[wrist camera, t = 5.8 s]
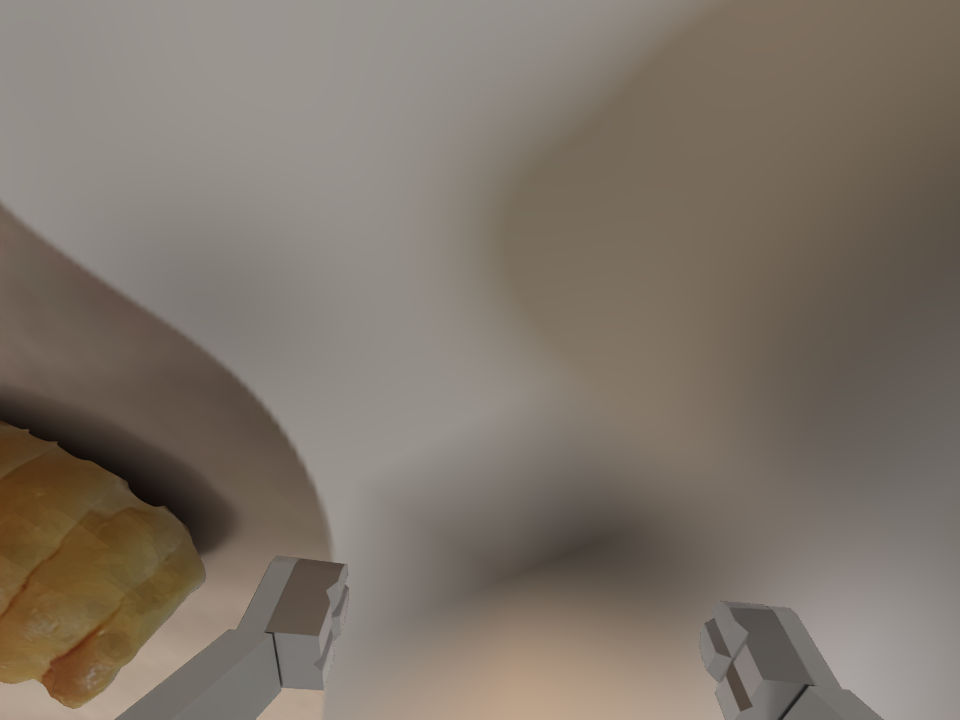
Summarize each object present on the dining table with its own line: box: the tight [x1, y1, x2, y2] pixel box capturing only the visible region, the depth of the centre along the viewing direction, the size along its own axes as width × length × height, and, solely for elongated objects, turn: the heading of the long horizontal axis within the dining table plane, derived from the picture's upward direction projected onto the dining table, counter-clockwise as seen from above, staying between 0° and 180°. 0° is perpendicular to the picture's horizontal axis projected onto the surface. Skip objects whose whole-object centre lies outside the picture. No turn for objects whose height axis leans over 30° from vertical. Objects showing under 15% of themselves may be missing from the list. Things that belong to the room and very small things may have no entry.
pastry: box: [0, 420, 206, 709], centre depth 12 cm, size 9×7×4 cm
